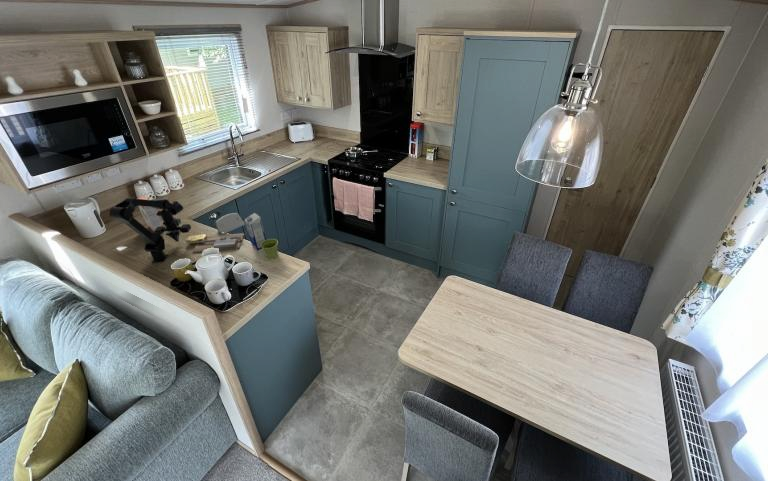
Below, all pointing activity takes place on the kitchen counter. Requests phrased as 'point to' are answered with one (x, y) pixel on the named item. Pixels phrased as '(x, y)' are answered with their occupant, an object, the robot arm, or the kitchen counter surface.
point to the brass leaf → (195, 238)
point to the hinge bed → (211, 244)
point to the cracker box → (150, 216)
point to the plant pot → (270, 248)
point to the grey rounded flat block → (229, 222)
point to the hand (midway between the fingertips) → (178, 241)
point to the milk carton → (255, 230)
